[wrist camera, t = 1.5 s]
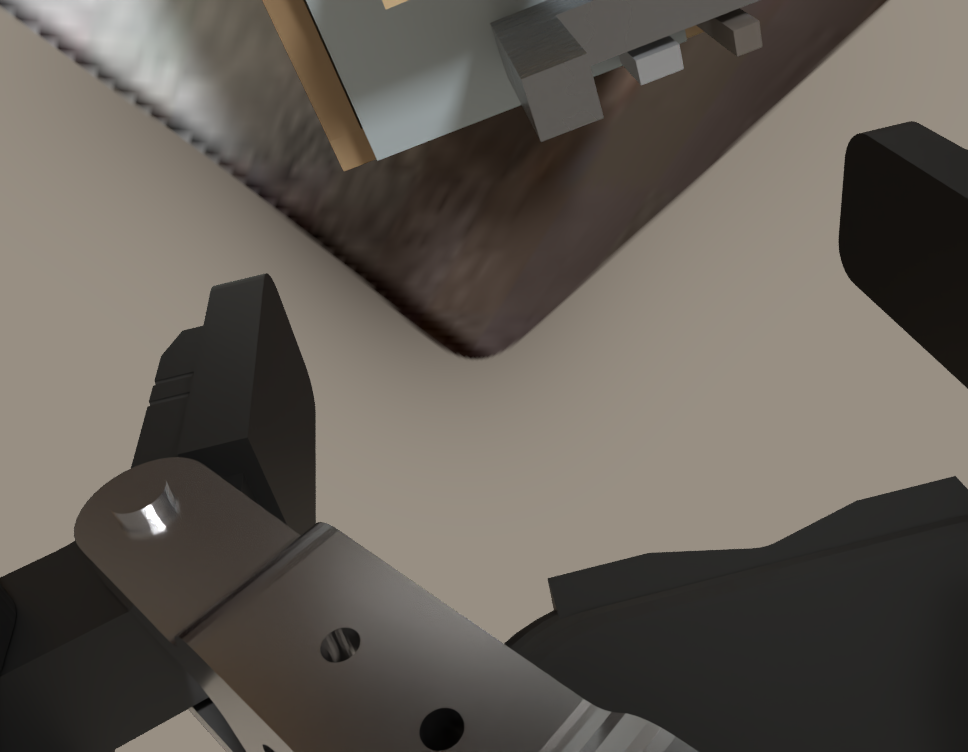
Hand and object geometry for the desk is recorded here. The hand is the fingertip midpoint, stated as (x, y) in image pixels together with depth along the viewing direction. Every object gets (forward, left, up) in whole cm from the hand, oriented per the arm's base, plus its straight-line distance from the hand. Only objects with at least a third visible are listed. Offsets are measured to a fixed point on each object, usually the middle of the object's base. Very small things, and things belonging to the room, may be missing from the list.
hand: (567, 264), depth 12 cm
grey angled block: (-5, +2, -18) cm, 18 cm away
